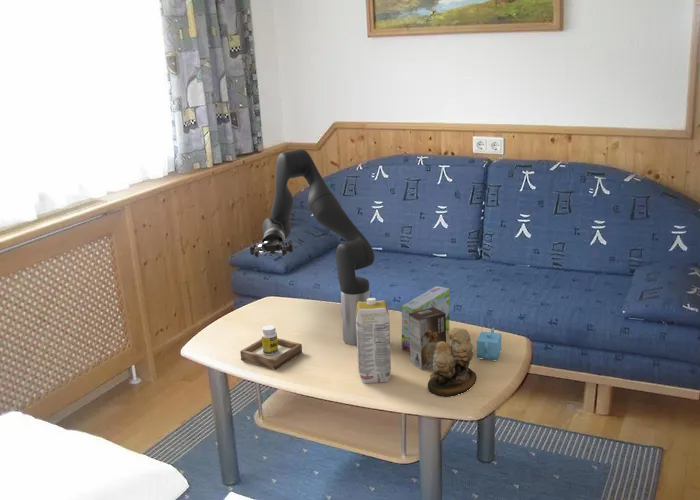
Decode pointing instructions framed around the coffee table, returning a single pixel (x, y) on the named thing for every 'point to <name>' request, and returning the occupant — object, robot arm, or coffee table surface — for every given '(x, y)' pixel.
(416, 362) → the coffee box
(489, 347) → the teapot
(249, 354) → the walnut tray
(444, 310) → the snack box
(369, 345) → the juice carton
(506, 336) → the coffee table surface
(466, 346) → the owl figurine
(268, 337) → the supplement bottle
